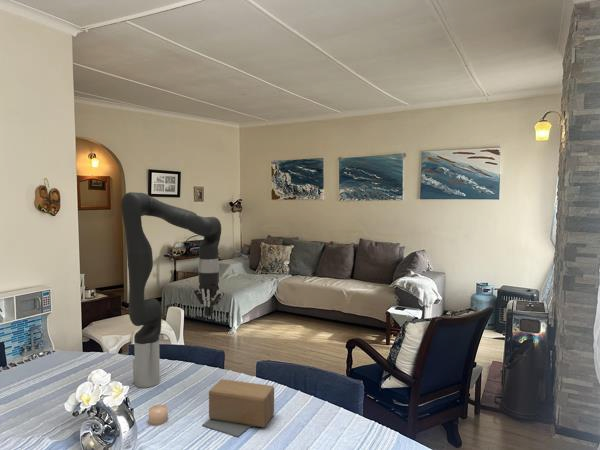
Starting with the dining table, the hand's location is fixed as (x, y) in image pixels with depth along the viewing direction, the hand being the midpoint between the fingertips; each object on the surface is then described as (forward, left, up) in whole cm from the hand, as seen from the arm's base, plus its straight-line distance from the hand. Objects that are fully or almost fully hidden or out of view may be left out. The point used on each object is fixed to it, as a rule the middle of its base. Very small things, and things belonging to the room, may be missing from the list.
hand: (209, 315), depth 161 cm
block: (+12, -13, -24) cm, 30 cm away
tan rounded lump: (-1, -25, -29) cm, 38 cm away
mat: (+21, -14, -29) cm, 38 cm away
